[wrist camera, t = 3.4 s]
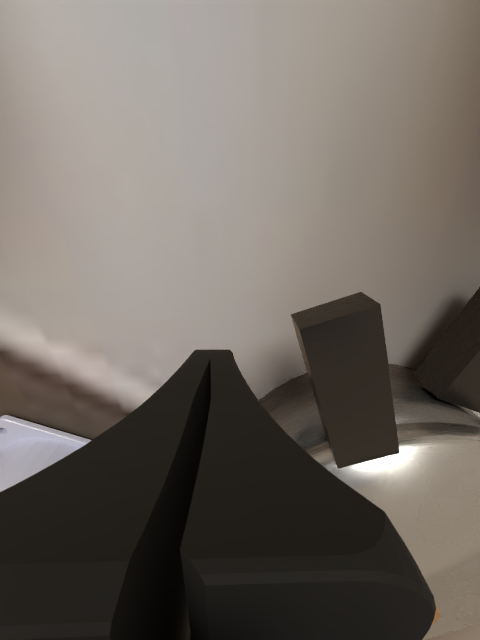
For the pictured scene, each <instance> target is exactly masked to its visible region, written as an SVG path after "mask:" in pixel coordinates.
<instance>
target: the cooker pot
mask: <svg viewBox="0 0 480 640" xmlns="http://www.w3.org/2000/svg"><path fill="white" fill-rule="evenodd" d="M388 367H389V375H390V382H391V390H392V398H393V405H394V413H395V420H396V425H400V424H408V423H433V422H441V423H453V424H466V425H471V426H476V427H480V418H479V417H478V416H477V415H476V414H475V413H473V412H472V411H471V410H473V411H476V412H479V413H480V287H479V289H478V290H477V291H476V293H475V294H474V295H473V297H472V298H471V299H470V301H469V302H468V303H467V304H466V306H465V307H464V308H463V310H462V311H461V312H460V314H459V315H458V316H457V318H456V319H455V320H454V322H453V323H452V324H451V325H450V327H449V328H448V329H447V331H446V332H445V333H444V335H443V336H442V337H441V339H440V340H439V341H438V343H437V344H436V345H435V346H434V348H433V349H432V350H431V352H430V353H429V354H428V356H427V357H426V358H425V360H424V361H423V362H422V364H421V365H420V366H419V367H418V369H417V370H416V371H415V370H413V369H409V368H405V367H402V366H398V365H393V364H388ZM259 402H260V403H261V404H262V406H263V407H264V408H265V410H266V411H267V412H268V413H269V414H270V415H271V417H272V418H273V419H274V420H275V421H276V422H277V423H278V425H279V426H280V427H281V428H282V429H283V430H284V431H285V432H286V433H287V434H288V435H289V436H290V437H291V438H292V439H293V440H294V441H295V442H297V443H298V444H299V445H300V446H301V447H302V448H303V449H304V450H308V449H310V448H313V447H315V446H317V445H320V444H322V443H324V442H327V440H326V436H325V433H324V429H323V426H322V422H321V419H320V415H319V412H318V408H317V405H316V401H315V398H314V394H313V391H312V387H311V384H310V380H309V377H308V373H306V374H304V375H301V376H299V377H297V378H295V379H292V380H290V381H288V382H286V383H285V384H283V385H281V386H279V387H278V388H276V389H274V390H273V391H271V392H270V393H269V394H267V395H266V396H264V397H263V398H262V399H260V400H259Z"/></svg>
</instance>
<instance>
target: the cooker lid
mask: <svg viewBox="0 0 480 640" xmlns="http://www.w3.org/2000/svg"><path fill="white" fill-rule="evenodd" d="M291 317H292V320H293V324H294V327H295V331H296V335H297V338H298V342H299V345H300V349H301V352H302V356H303V359H304V363H305V366H306V370H307V373H308V377H309V380H310V384H311V387H312V391H313V394H314V398H315V401H316V405H317V408H318V412H319V415H320V419H321V422H322V426H323V429H324V433H325V436H326V440H327V442H324V443H322V444H320V445H317V446H315V447H313V448H310V449H308V450H305V451H306V452H307V453H308V454H309V455H311V456H312V457H313V458H314V459H315V460H316V461H317V462H319V463H320V464H321V465H322V466H324V467H325V468H326V469H327V470H328V471H330V472H331V473H332V474H333V475H335V476H336V477H337V478H339V479H340V480H341V481H343V482H344V483H346V484H347V485H348V486H350V487H351V488H353V489H354V490H355V491H357V492H358V493H360V494H361V495H362V496H364V497H365V498H367V499H368V500H369V501H371V502H372V503H373V504H375V505H376V506H378V507H379V508H380V509H382V510H383V511H384V512H385V513H386V514H387V516H388V518H389V519H390V521H391V522H392V524H393V526H394V527H395V529H396V530H397V532H398V533H399V535H400V536H401V538H402V540H403V541H404V543H405V544H406V546H407V548H408V550H409V551H410V553H411V555H412V556H413V558H414V560H415V561H416V563H417V565H418V567H419V569H420V571H421V573H422V575H423V577H424V579H425V580H426V582H427V584H428V586H429V588H430V590H431V592H432V594H433V596H434V600H435V605H436V612H435V617H434V620H433V622H432V625H431V627H430V629H429V631H428V632H427V634H426V635H425V637H424V638H423V640H425V639H429V638H433V637H436V636H440V635H444V634H447V633H450V632H453V631H457V630H459V629H463V628H465V627H468V626H471V625H473V624H476V623H479V622H480V427H476V426H471V425H466V424H453V423H441V422H433V423H408V424H400V425H396V420H395V413H394V405H393V398H392V390H391V382H390V375H389V367H388V359H387V352H386V344H385V337H384V329H383V321H382V314H381V306H380V304H379V303H378V302H376V301H374V300H373V299H371V298H370V297H368V296H367V295H365V294H363V293H362V292H359V293H356V294H353V295H350V296H347V297H344V298H341V299H338V300H334V301H331V302H328V303H325V304H322V305H319V306H316V307H313V308H310V309H307V310H303V311H300V312H297V313H294V314H291Z"/></svg>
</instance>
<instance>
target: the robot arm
mask: <svg viewBox="0 0 480 640" xmlns="http://www.w3.org/2000/svg"><path fill="white" fill-rule="evenodd" d="M435 612H436V605H435V600H434V596H433V594H432V592H431V590H430V588H429V586H428V584H427V582H426V580H425V579H424V577H423V575H422V573H421V571H420V569H419V567H418V565H417V563H416V561H415V560H414V558H413V556H412V555H411V553H410V551H409V550H408V548H407V546H406V544H405V543H404V541H403V540H402V538H401V536H400V535H399V533H398V532H397V530H396V529H395V527H394V526H393V524H392V522H391V521H390V519H389V518H388V516H387V514H386V513H385V512H384V511H383V510H382V509H380V508H379V507H378V506H376V505H375V504H373V503H372V502H371V501H369V500H368V499H367V498H365V497H364V496H362V495H361V494H360V493H358V492H357V491H355V490H354V489H353V488H351V487H350V486H348V485H347V484H346V483H344V482H343V481H341V480H340V479H339V478H337V477H336V476H335V475H333V474H332V473H331V472H330V471H328V470H327V469H326V468H325V467H324V466H322V465H321V464H320V463H319V462H317V461H316V460H315V459H314V458H313V457H312V456H311V455H309V454H308V453H307V452H306V451H305V450H304V449H303V448H302V447H301V446H300V445H299V444H298V443H297V442H295V441H294V440H293V439H292V438H291V437H290V436H289V435H288V434H287V433H286V432H285V431H284V430H283V429H282V428H281V427H280V426H279V425H278V423H277V422H276V421H275V420H274V419H273V418H272V417H271V415H270V414H269V413H268V412H267V411H266V410H265V408H264V407H263V406H262V404H261V403H260V402H259V401H258V399H257V398H256V396H255V395H254V393H253V392H252V391H251V389H250V388H249V386H248V384H247V383H246V381H245V379H244V378H243V376H242V374H241V372H240V370H239V369H238V366H237V364H236V362H235V360H234V357H233V353H232V352H231V351H230V350H195V351H194V352H193V353H192V354H191V355H190V356H189V358H188V359H187V360H186V361H185V362H184V363H183V365H182V366H181V367H180V368H179V369H178V370H177V371H176V372H175V373H174V374H173V375H172V376H171V378H170V379H169V380H168V381H167V382H166V383H165V384H164V385H163V386H162V387H161V388H159V389H158V390H157V391H156V392H155V393H154V394H153V395H152V396H151V397H150V398H149V399H148V400H146V401H145V402H144V403H143V404H142V405H141V406H139V407H138V408H137V409H136V410H134V411H133V412H132V413H130V414H129V415H128V416H127V417H125V418H124V419H123V420H121V421H120V422H118V423H117V424H116V425H114V426H113V427H111V428H110V429H108V430H107V431H105V432H104V433H102V434H101V435H99V436H98V437H96V438H95V439H93V440H89V439H86V438H83V437H79V436H76V435H73V434H69V433H66V432H63V431H59V430H56V429H53V428H49V427H46V426H43V425H39V424H36V423H32V422H29V421H26V420H22V419H19V418H16V417H12V416H8V415H3V416H1V417H0V640H187V635H188V622H190V629H191V636H190V640H423V638H424V637H425V635H426V634H427V632H428V631H429V629H430V627H431V625H432V622H433V620H434V617H435Z"/></svg>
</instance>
